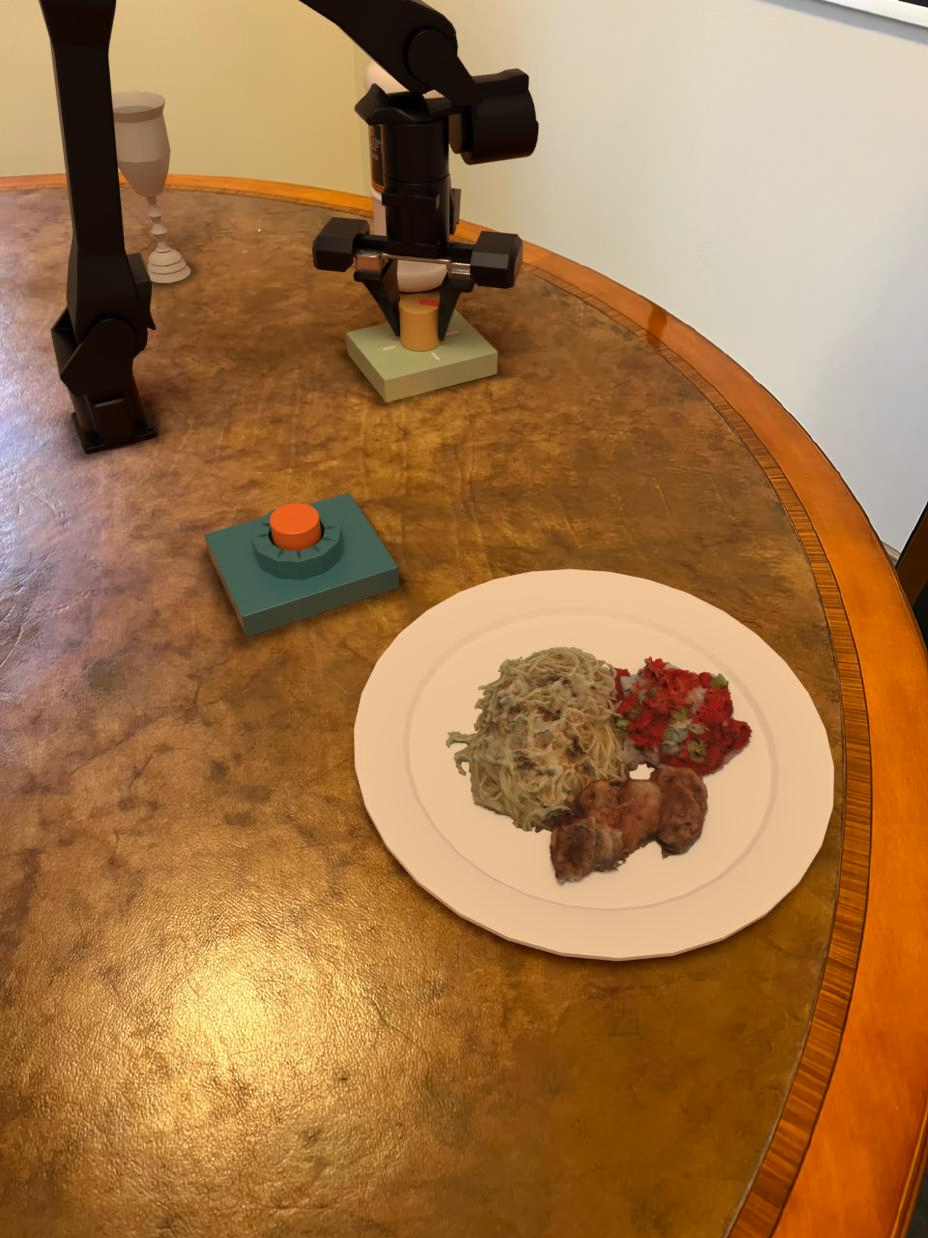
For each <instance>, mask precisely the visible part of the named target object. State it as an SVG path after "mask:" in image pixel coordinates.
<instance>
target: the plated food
mask: <svg viewBox="0 0 928 1238" xmlns="http://www.w3.org/2000/svg"><path fill="white" fill-rule="evenodd" d="M353 736H354V737H353V742H354V743H353V744H354V747H353V748H354V749H353V750H354V770H355V774H356V778H357V781H358V784H359V789H360V793H361V797H362V800H363V803H364V807H365V810H366V812H367V814H368V816H369V818H370V820H371V821H372V823H373V825H374V827H375V829H376V830H377V833H378V835H379V836H380V839H381V840H382V842H383V844H384V845H385V848H386V849H387V850H388V852H390V853H391V855H392V856H393V857H394V859H396V861H397V862H398V863H399V864H400V865H401V866H402V868H403V869H404V870H405V871H406V872H407V873H408V874H409V876H410V877H411V878H412V879H413V880H414V881H415V883H416V884H417V885H418V886H419V887H421V888H422V889H423V890H424V891H426V892H427V893H429V894H430V895H431V896H433V897H434V898H435V899H436V900H438V901H439V902H440V903H441V904H443V905H444V906H445V907H447V909H449V910H451V911H452V912H453V913H454V914H456V915H457V916H459V917H460V918H462V919H464V920H466V921H468V922H470V923H473V924H474V925H475V926H478V927H480V928H482V929H484V930H486V931H487V932H491V933H492V934H494V935H496V936H498V937H500V938H502V939H505V940H507V941H509V942H511V943H512V942H513V943H516V944H519V945H522V946H526V947H529V948H533V949H536V950H540V951H543V952H547V953H551V954H554V955H557V956H560V957H569V958H570V957H571V958H578V959H579V958H580V959H591V960H593V959H594V960H602V961H611V962H623V961H633V960H644V959H652V958H653V959H654V958H655V959H656V958H665V957H673V956H677V955H679V954H683V953H686V952H690V951H693V950H696V949H699V948H702V947H707V946H709V945H712V944H716V943H719V942H722V941H724V940H726V939H728V938H730V937H731V936H733V935H734V934H736V933H738V932H740V931H741V930H743V929H744V928H746V927H748V926H750V925H752V924H753V923H755V922H757V921H759V920H760V919H762V918H765V917H766V916H767V915H768V914H769V913H770V912H771V911H772V910H773V909H774V908H775V907H776V906H777V905H778V904H780V903H781V902H782V900H784V899H785V898H786V897H787V896H788V895H789V894H790V893H791V892H792V891H793V890H794V889H795V888H796V887H797V886H798V885H799V884H800V882H801V881H802V879H803V877H804V876H805V874H806V872H807V871H808V869H809V868H810V866H811V864H812V862H813V861H814V859H815V857H816V856H817V854H818V853H819V851H820V849H821V848H822V847H823V843H824V840H825V836H826V832H827V829H828V825H829V822H830V819H831V815H832V812H833V808H834V791H835V789H834V787H835V786H834V785H835V765H834V760H833V757H832V756H833V755H832V751H831V746H830V743H829V739H828V738H829V737H828V734H827V729H826V727H825V725H824V723H823V721H822V719H821V716H820V714H819V712H818V709H817V708H816V706H815V704H814V701H813V699H812V697H811V696H810V693H809V692H808V690H807V689H806V688H805V686H804V685H803V683H802V682H801V681H800V679H799V678H798V677H797V676H796V674H795V673H794V671H793V669H791V668H790V666H789V664H788V663H787V662H786V661H785V659H783V658H782V657H781V656H780V655H779V654H778V653H777V652H776V651H775V650H774V649H773V648H772V647H770V645H769V644H768V643H766V642H765V641H764V640H763V639H762V638H761V636H759V635H758V634H757V633H755V632H754V631H753V630H751V629H750V628H749V627H747V626H746V625H744V623H741V622H740V621H738V620H737V619H736V618H734V617H732V616H731V615H730V614H729V613H727V612H726V611H724V610H722V609H720V608H718V607H716V606H715V605H713V604H710V603H708V602H706V601H704V600H703V599H700V598H698V597H696V596H694V595H693V594H691V593H689V592H686V591H683V590H680V589H677V588H674V587H673V586H672V587H671V586H669V585H665V584H663V583H660V582H657V581H654V580H651V579H647V578H642V577H637V576H633V575H628V574H623V573H617V572H613V571H604V570H587V569H575V568H565V569H553V570H552V569H551V570H534V571H529V572H522V573H519V574H513V575H509V576H503V577H498V578H494V579H492V580H488V581H486V582H483V583H480V584H478V585H475V586H471V587H469V588H467V589H464V590H461V591H458V592H457V593H455V594H453V595H451V596H450V597H448V598H446V599H444V600H443V601H441V602H439V603H437V604H435V605H434V606H432V607H429V609H427V610H426V611H425V612H423V613H422V614H421V615H420V616H419V617H417V618H416V619H415V620H414V621H413V622H411V623H410V624H409V625H408V626H406V627H405V628H404V629H403V630H402V631H401V632H399V633H398V635H397V636H396V637H395V638H394V640H393V641H391V643H390V645H389V646H388V647H387V648H386V650H385V651H384V652H383V653H382V655H381V656H380V657H379V658H378V660H377V661H376V663H375V665H374V667H373V669H372V671H371V674H370V676H369V677H368V680H367V682H366V683H365V686H364V687H363V690H362V692H361V695H360V699H359V704H358V710H357V713H356V718H355V721H354V727H353Z"/></svg>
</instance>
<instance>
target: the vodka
mask: <svg viewBox="0 0 928 1238" xmlns="http://www.w3.org/2000/svg"><path fill="white" fill-rule="evenodd" d="M365 68H366V69H365V72H364V76H363V80H362V82H363V85H364V90H365V95H366V94H367V93H368V91H369V89H370V87H371V85H372V84H373V83H376V84H377V85H378V86H379V87H381V88H382V89H383V90H384V91H385V93H394V92H402V91H409V90H407V89H406V88H404V87H403V86H402V85H401V84H400V83H398V82H397V81H396V80H395V79H394V78H393V77H391V76H390V75H389V74H388V73H387V72H386V71H385V70H383V69H382V68H381V67H380V66H379V65H378V64H377V63H376V62H374V61H373V60H372V59H371V61H370V62H369V63H368V65H367V67H365ZM423 96H424V98H438V97H444V96H443V95H441V94H440V93H438V92H437V91H435V90H432V91H430V92H427V93H426V94H423ZM367 133H368V134H367V135H368V149H369V165H370V180H371V184H370V188H369V193H370V195H371V201H372V202H371V203H372V213H373V214H372V215H373V235H382V236H386V218H385V206H383V205H382V199H381V193H382V192H383V190H384V181H383V160H382V141H381V125H374V126H369V125H368V124H367ZM447 271H448V270H446V264H436V263H426V262H416V261H405V260H398V269H397V278H398V286H399V293H400V292H401V293H421V292H426V291H431V290H434V289H436V288H438V287H440V285H441V283H442V281H443V279H444V277H445V275H446V273H447Z"/></svg>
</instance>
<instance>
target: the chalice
mask: <svg viewBox="0 0 928 1238" xmlns="http://www.w3.org/2000/svg"><path fill="white" fill-rule="evenodd" d="M112 103H113V115H114V126H115V138H116V150H117V161H118V171H120V173H121V175H122V177H124V179H125V180H126V181H127V183H128V184H129V186H130V187H131V189H132V190H134V192H135V193H136V195H138V196H140V197H144V198H145V199H146V202H147V203H148V204H147V205H148V211H147V214H146V215H147V217H148V218H150V220H151V222H152V228H151V229H150V234H152V235H153V236H154V238H155V241H156V248H155V250H154V251H152V252H151V253H150V255H149V256H148V260H147V261H148V262H147V265H146V268H147V271H148V273H149V276H150V279H151V281H152V283H157V284H158V283H159V284H171V283H175V282H180V281H183V280H185V279H186V278H187V277H189V276H190V275H191V273H192V271H191V268H190V267H189V266H188V265H187V262H186V261H185V259H184V258H183V256H182V254H181V253H180V252H178V251H177V250H176V249H174V248H172V247H170V246H168V244H167V242H166V234H167V232H168V229H167V228H166V227H164V225H163V223H162V216H163V215H164V214H163V212H162V211H161V210H160V207H159V205H158V202H157V197H158V196H159V195H161V194H162V193H163V192H164V189H165V186H166V181H167V178H168V174H169V170H170V159H171V145H170V140H169V135H168V131H167V126H166V121H165V116H164V109H165V105H166V98H165V97H164V96H163V95H161V94H158V93H156V92H150V91H143V90H142V91H140V90H134V91H133V90H131V91H130V90H128V91H119V92H112Z"/></svg>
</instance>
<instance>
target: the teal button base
mask: <svg viewBox="0 0 928 1238" xmlns="http://www.w3.org/2000/svg"><path fill="white" fill-rule="evenodd" d="M307 505H310V506H312V507H313V508H315V509H316V511H317V512H318V514H319V519H320V527H321V538H320V540H319V541H318V543H317V544H316V545H314V546H313V547H309V548H306V549H303V550H300V551H295V550H283V549H281V548H279V547H278V546H277V545H276V544H275V543H274V541H273V537H272V532H271V526H270V517H271V515H272V513H273V512H274V511H275V510H276V509H277V508H276V509H272V510H270V511H269V512H268V513H267V514H265V515H264V516H263V517H259V518H256V519H252V520H249V521H246V522H241V523H238V524H235V525H231V526H228V527H225V528H221V529H217V530H214V531H211V532H208V533H204V540H205V544H206V547H207V551H208V552H207V553H208V556H209V558H210V560H211V562H212V565H213V566H214V569H215V571H216V573H217V575H218V577H219V580H220V583H221V584H222V586H223V588H224V591H225V593H226V595H227V598H228V600H229V602H230V604H231V606H232V608H233V611H234V614H235V615H236V618H237V620H238V622H239V624H240V627H241V629H242V631H243V633H244V635H245V637H246V638H251V637H254V636H256V635H259V634H263V633H265V632H269V631H272V630H275V629H278V628H281V627H285V626H286V625H287V626H288V625H290V624H293V623H296V622H299V621H303V620H306V619H309V618H311V617H315V616H317V615H320V614H323V613H327V612H330V611H333V610H335V609H339V608H343V607H346V606H348V605H352V604H354V603H357V602H360V601H364V600H366V599H370V598H372V597H375V596H378V595H382V594H384V593H387V592H392V591H394V590H397V589H399V588H400V575H399V566H398V564H397V563H396V562H395V560H394V558H393V557H392V555H391V554H390V552H389V551H388V550H387V548H386V546H385V545H384V543H383V542H382V540H381V539H380V537H379V535H378V534H377V532H376V531H375V530H374V528H373V527H372V525H371V523H370V522H369V520H368V519H367V517H366V516H365V514H364V512H363V511H362V510H361V508H360V507H359V505H358V504H357V502H356V500H355V499H354V498H353V496H352V494H351V493H350V492H347V493H343V494H339V495H336V496H332V497H329V498H325V499H322V500H318V501H315V502H311V503H308V504H307Z"/></svg>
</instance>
